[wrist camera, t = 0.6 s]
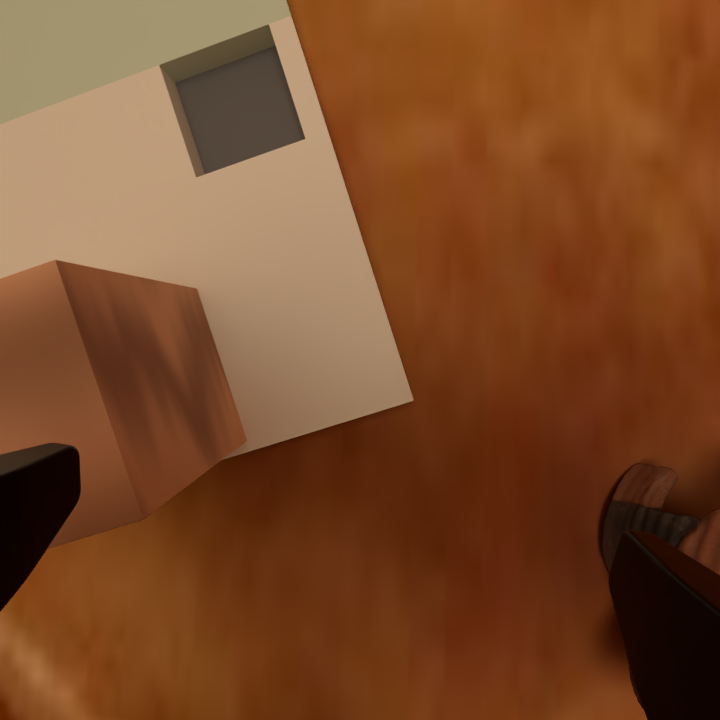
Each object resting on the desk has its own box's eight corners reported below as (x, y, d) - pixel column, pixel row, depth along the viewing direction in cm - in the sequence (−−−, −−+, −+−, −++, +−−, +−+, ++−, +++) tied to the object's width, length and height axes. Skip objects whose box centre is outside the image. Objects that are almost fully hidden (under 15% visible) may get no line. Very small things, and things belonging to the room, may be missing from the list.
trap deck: (412, 394, 26) (413, 400, 24) (-12, 526, 27) (-44, 542, 25) (299, 40, 25) (291, 15, 23) (-127, 197, 27) (-169, 187, 25)
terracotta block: (247, 440, 24) (143, 519, 14) (101, 486, 25) (-98, 592, 15) (196, 288, 24) (55, 259, 14) (51, 337, 24) (-187, 343, 14)
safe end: (299, 40, 25) (291, 15, 23) (-127, 197, 27) (-169, 187, 25) (244, -132, 25) (231, -173, 23) (-183, 38, 26) (-230, 13, 24)
